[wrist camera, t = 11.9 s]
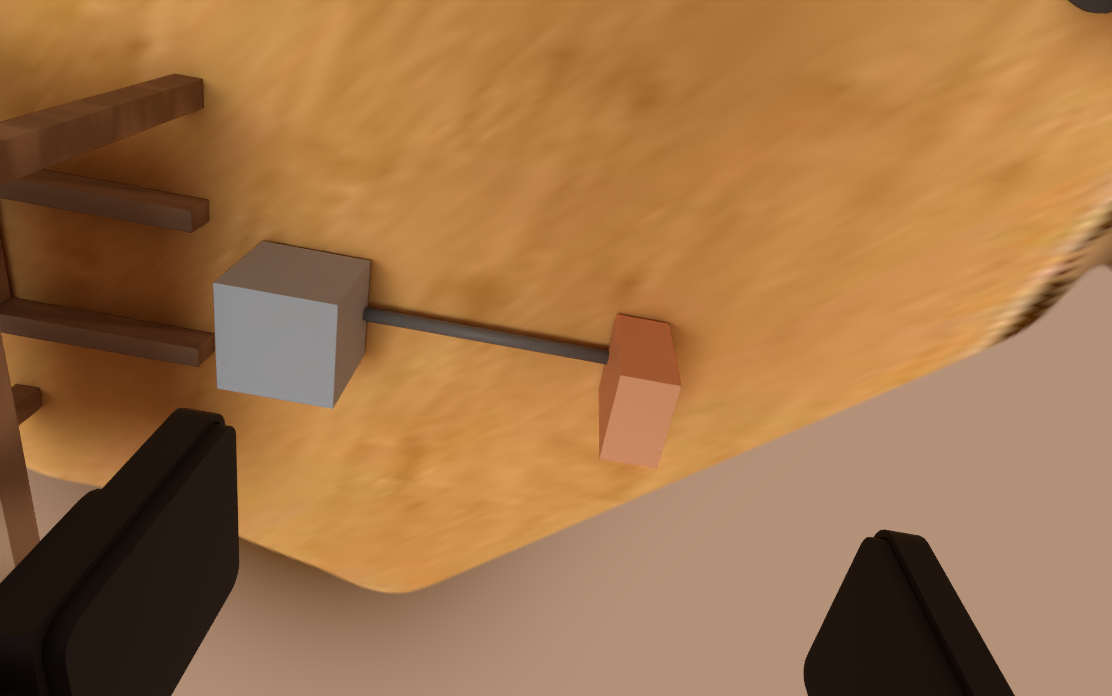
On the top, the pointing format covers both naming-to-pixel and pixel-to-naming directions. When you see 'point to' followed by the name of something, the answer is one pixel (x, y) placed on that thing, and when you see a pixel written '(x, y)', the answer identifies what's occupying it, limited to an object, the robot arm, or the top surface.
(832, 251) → the top surface
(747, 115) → the top surface
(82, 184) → the wooden side table
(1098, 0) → the sundae
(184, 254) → the top surface
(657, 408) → the lopsided dumbbell
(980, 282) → the top surface
